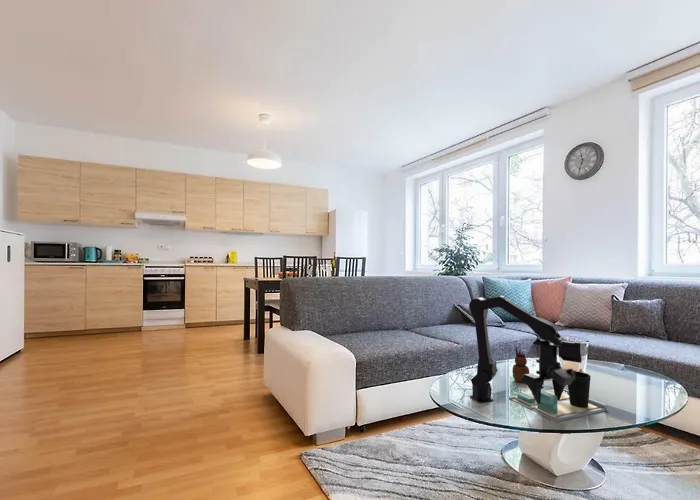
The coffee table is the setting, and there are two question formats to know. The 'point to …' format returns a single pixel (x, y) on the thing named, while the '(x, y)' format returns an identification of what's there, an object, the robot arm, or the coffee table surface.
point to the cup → (579, 390)
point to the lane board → (600, 408)
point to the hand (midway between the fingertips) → (548, 401)
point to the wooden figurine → (520, 366)
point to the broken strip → (565, 396)
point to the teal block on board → (558, 406)
